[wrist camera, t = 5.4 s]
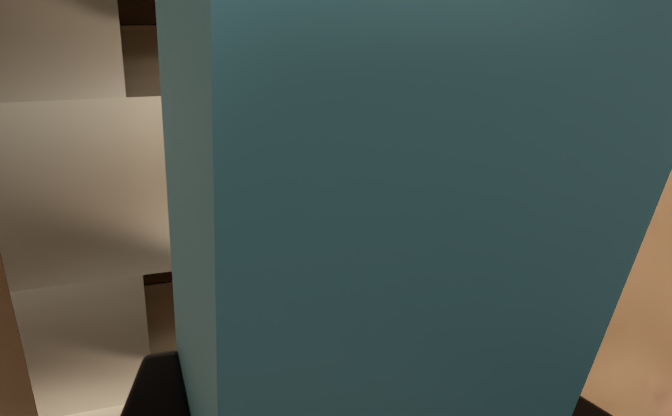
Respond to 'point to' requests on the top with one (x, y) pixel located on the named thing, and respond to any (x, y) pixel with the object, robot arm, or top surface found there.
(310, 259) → the clip
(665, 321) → the top surface
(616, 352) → the top surface
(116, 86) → the beige patterned block
